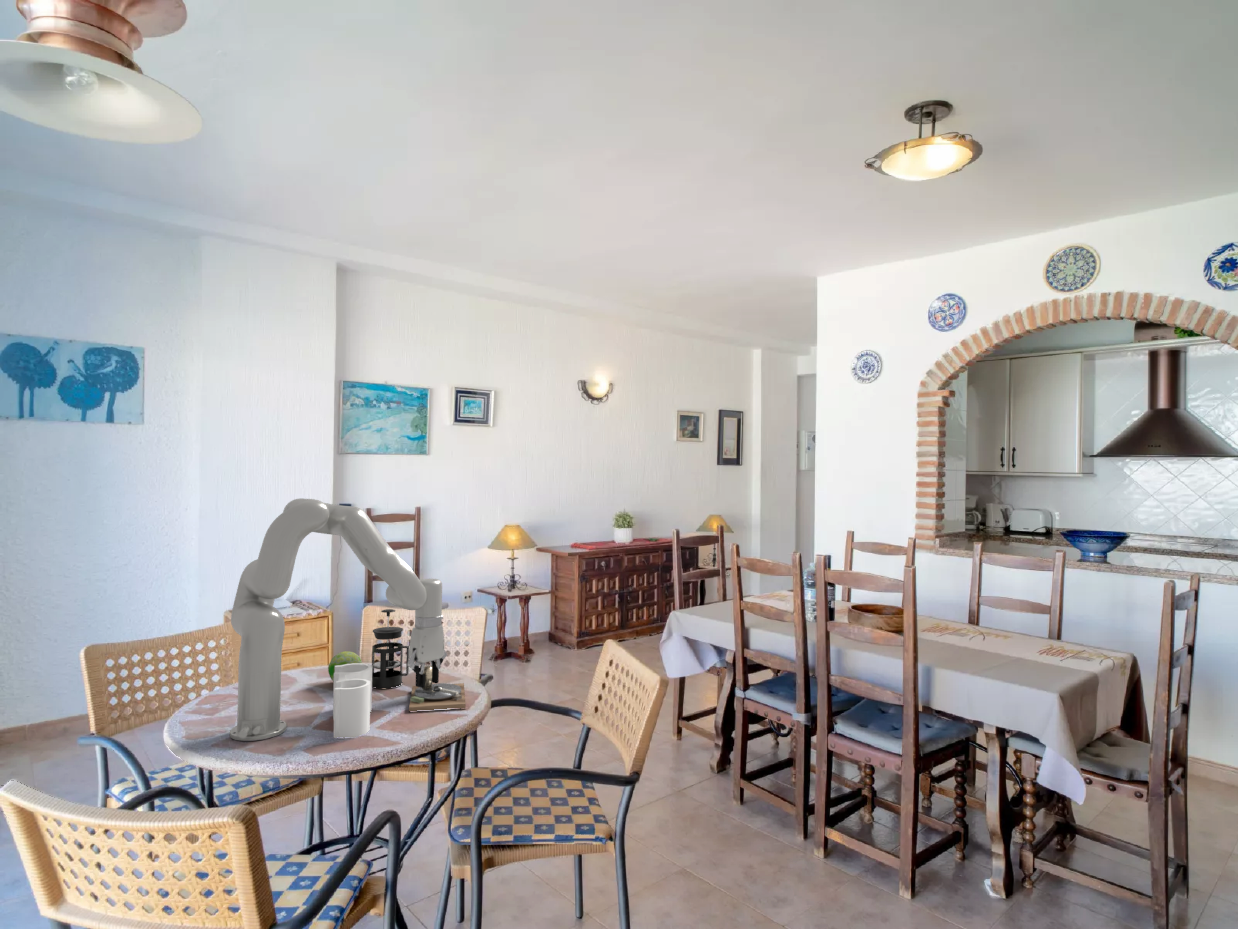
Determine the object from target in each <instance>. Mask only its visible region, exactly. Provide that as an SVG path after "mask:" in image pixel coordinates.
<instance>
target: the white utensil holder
mask: <svg viewBox="0 0 1238 929" xmlns="http://www.w3.org/2000/svg"><path fill="white" fill-rule="evenodd" d="M332 691H333V693H332V694H333V695H332V699H333V700H332V701H333V702H332V719H333V739H334V738H337V737H343V738H342V739H344V738H345V737H355V738H357V737H356V736H359V735H362V734H365V735H367V734H368V733H369V732H370V731H369V730H371V729H370V728H371V727H370V725H371V723H370V722H371V713H372V711H371V710H372V709H373V707H372V705H373V704H372V703H373V701H372V700H373V699H372V698H373V688H372V664H370V663H364V662H362V663H353V664H345V665H337V666H335V673H334V681H333V690H332ZM370 712H371V713H370ZM368 731H369V732H368ZM367 732H368V733H367ZM366 733H367V734H366ZM345 739H346V738H345Z"/></svg>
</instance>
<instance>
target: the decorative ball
mask: <svg viewBox="0 0 1238 929" xmlns="http://www.w3.org/2000/svg"><path fill="white" fill-rule="evenodd" d="M353 663H363V661H362V659H361V657H360V656H359V655H358V654H357V653H355V652H353V651H341V652H338V653H337V654H336V655H334V656H333V657H332V658H331V660H330V662H329V663H328V666H327V670H328V675H329V677H330V680H332V681H333V682H334V673H335V666H337V665H345V664H353Z"/></svg>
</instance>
